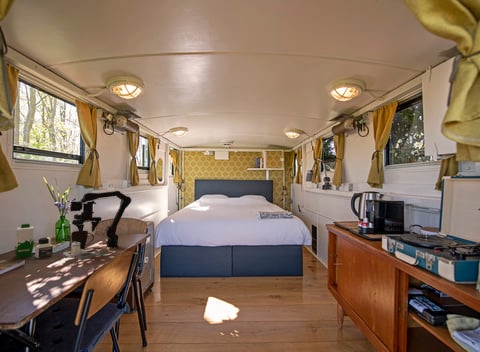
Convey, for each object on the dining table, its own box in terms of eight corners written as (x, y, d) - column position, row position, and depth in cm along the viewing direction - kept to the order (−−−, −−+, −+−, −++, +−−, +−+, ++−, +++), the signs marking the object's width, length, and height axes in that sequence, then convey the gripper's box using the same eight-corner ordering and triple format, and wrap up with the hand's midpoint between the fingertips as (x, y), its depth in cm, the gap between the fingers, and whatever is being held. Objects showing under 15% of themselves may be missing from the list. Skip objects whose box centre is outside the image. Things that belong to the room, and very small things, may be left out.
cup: (72, 247, 172) (73, 231, 173) (94, 245, 178) (95, 229, 178) (68, 251, 163) (69, 233, 164) (92, 249, 169) (92, 232, 169)
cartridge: (81, 254, 155) (82, 241, 155) (75, 256, 151) (75, 243, 151) (76, 253, 156) (76, 240, 157) (69, 255, 152) (69, 242, 152)
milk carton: (33, 253, 157) (34, 223, 158) (33, 256, 151) (34, 224, 151) (14, 255, 152) (16, 224, 152) (14, 259, 145) (15, 226, 146)
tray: (80, 252, 160) (80, 249, 160) (87, 255, 155) (87, 251, 155) (63, 256, 152) (63, 252, 152) (69, 259, 146) (69, 255, 146)
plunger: (105, 250, 161) (105, 246, 161) (108, 251, 158) (108, 246, 159) (100, 251, 158) (100, 247, 158) (102, 252, 155) (102, 248, 156)
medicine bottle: (38, 259, 145) (39, 239, 145) (35, 257, 149) (36, 238, 150) (52, 256, 151) (53, 237, 151) (49, 254, 155) (50, 236, 155)
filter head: (105, 251, 163) (105, 247, 163) (112, 254, 158) (112, 249, 158) (75, 258, 148) (75, 253, 149) (82, 261, 143) (82, 256, 143)
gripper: (90, 208, 177) (89, 229, 176) (66, 211, 159) (65, 234, 158) (102, 209, 174) (101, 230, 173) (79, 212, 156) (78, 236, 155)
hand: (87, 232), depth 165 cm, fingers open, 9 cm apart
